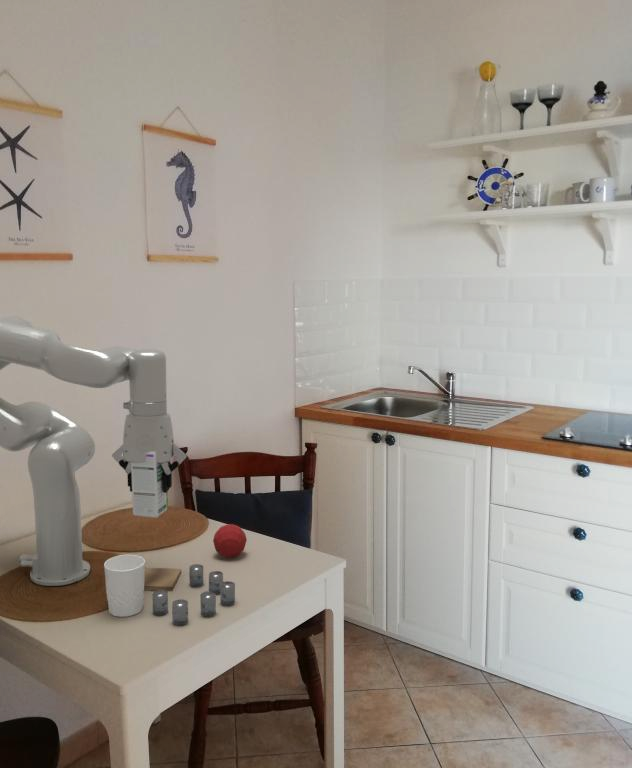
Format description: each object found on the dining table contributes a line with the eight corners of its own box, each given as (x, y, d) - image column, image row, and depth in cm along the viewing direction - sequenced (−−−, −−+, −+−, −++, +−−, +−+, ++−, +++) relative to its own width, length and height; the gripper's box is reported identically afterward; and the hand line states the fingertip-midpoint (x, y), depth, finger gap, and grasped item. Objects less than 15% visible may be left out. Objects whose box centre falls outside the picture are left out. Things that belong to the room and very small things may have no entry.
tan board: (121, 589, 151) (120, 585, 151) (132, 571, 160) (132, 567, 160) (172, 591, 151) (172, 586, 151) (181, 572, 160) (181, 568, 160)
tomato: (232, 528, 164) (232, 511, 171) (206, 547, 165) (206, 529, 172) (253, 550, 167) (252, 533, 174) (227, 569, 168) (227, 550, 175)
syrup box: (157, 518, 150) (156, 451, 147) (131, 515, 151) (130, 449, 148) (168, 509, 155) (167, 445, 153) (143, 506, 156) (142, 443, 154)
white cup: (124, 622, 138) (123, 574, 136) (97, 611, 142) (95, 564, 140) (154, 606, 144) (153, 560, 143) (126, 596, 148) (125, 551, 147)
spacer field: (146, 625, 137) (145, 605, 136) (169, 580, 156) (169, 563, 155) (227, 627, 137) (227, 608, 136) (240, 582, 156) (240, 565, 155)
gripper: (101, 411, 146) (104, 494, 149) (185, 413, 145) (186, 497, 148) (113, 403, 153) (115, 483, 156) (192, 406, 153) (193, 486, 156)
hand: (149, 489), depth 152 cm, fingers closed on syrup box, 6 cm apart
